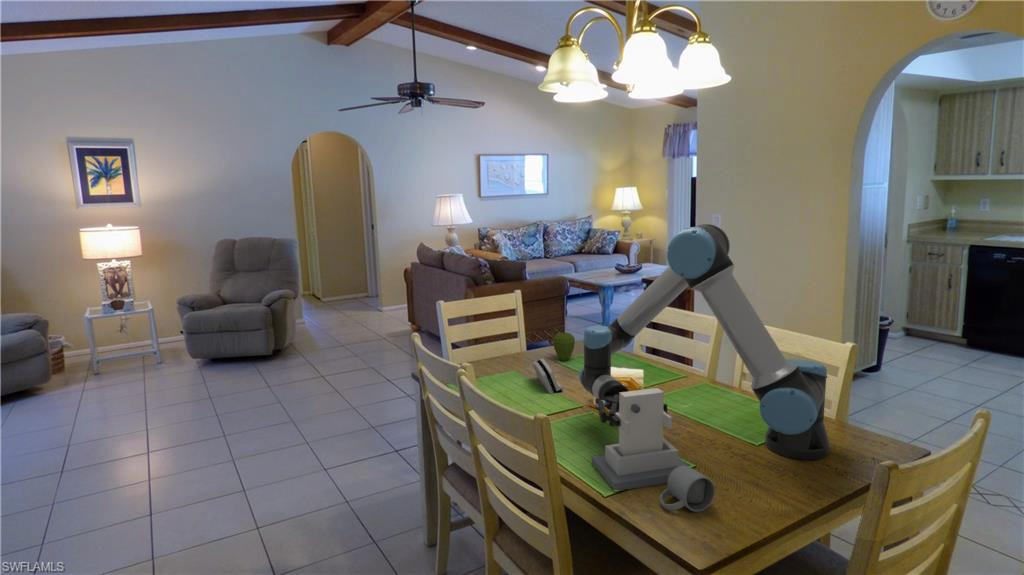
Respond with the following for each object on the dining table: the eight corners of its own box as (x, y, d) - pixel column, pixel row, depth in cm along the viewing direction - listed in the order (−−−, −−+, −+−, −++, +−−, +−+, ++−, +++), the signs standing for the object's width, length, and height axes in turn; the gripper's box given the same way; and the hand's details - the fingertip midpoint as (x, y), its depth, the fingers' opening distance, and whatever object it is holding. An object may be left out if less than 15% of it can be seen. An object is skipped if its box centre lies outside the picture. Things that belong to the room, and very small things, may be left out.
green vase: (579, 360, 235) (579, 331, 233) (562, 364, 230) (561, 335, 228) (566, 355, 242) (565, 327, 240) (549, 359, 238) (548, 331, 236)
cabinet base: (664, 453, 155) (665, 431, 154) (693, 478, 142) (694, 454, 141) (591, 464, 150) (591, 441, 149) (614, 491, 137) (614, 467, 136)
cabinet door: (656, 446, 148) (657, 388, 145) (664, 453, 144) (666, 393, 141) (618, 451, 146) (619, 392, 143) (626, 459, 142) (626, 398, 139)
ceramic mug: (691, 489, 137) (692, 458, 135) (715, 507, 129) (716, 474, 128) (651, 500, 133) (651, 468, 132) (673, 519, 126) (673, 485, 124)
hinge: (564, 392, 201) (554, 366, 199) (551, 398, 200) (541, 372, 198) (551, 376, 217) (541, 352, 215) (539, 382, 216) (529, 357, 214)
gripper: (649, 401, 164) (692, 434, 143) (571, 411, 159) (603, 447, 138) (650, 375, 163) (693, 405, 142) (571, 384, 158) (604, 416, 136)
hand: (649, 425), depth 140 cm, fingers closed on cabinet door, 10 cm apart
